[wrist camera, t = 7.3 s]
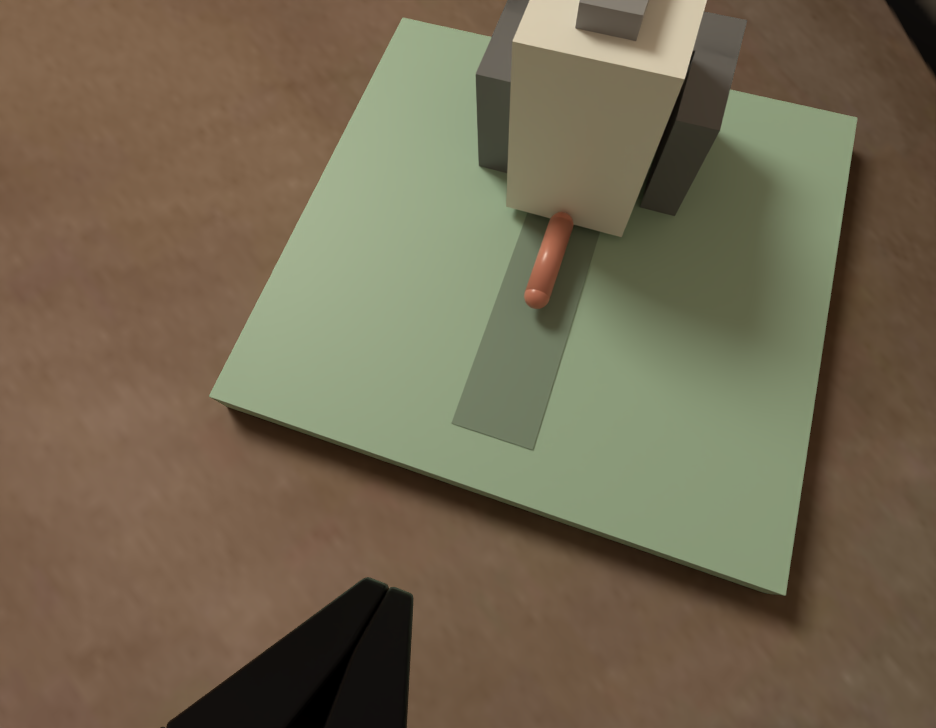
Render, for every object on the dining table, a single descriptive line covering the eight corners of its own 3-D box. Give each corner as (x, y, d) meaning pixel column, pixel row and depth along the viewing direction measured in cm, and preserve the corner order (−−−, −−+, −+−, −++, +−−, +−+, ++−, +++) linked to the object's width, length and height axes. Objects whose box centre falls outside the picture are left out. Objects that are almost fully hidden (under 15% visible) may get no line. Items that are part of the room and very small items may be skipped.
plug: (594, 330, 22) (657, 187, 13) (472, 295, 22) (460, 138, 14) (649, 143, 25) (729, -71, 16) (539, 117, 25) (562, -101, 17)
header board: (764, 593, 20) (797, 597, 18) (226, 406, 23) (198, 390, 21) (837, 141, 26) (868, 103, 24) (406, 43, 30) (400, 2, 27)
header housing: (674, 216, 24) (720, 130, 19) (478, 165, 25) (475, 74, 20) (699, 121, 25) (746, 20, 21) (514, 78, 27) (518, -26, 22)
